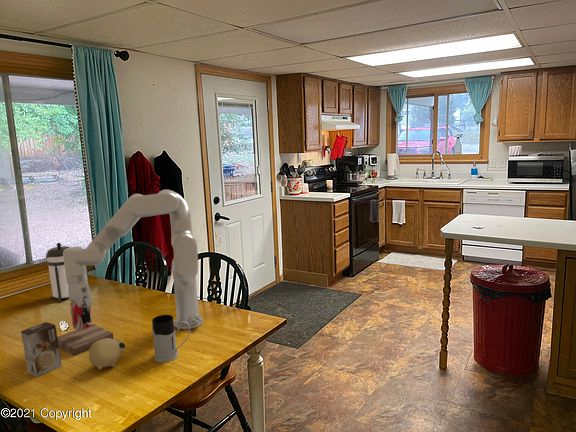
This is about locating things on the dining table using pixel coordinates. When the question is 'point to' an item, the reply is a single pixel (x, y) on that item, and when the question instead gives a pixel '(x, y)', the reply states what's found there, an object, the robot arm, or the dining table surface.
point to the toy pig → (106, 352)
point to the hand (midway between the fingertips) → (82, 319)
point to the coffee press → (58, 272)
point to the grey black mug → (165, 338)
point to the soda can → (78, 317)
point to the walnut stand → (82, 339)
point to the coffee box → (41, 348)
